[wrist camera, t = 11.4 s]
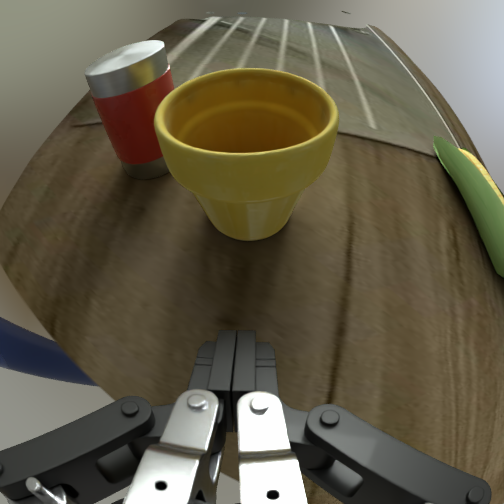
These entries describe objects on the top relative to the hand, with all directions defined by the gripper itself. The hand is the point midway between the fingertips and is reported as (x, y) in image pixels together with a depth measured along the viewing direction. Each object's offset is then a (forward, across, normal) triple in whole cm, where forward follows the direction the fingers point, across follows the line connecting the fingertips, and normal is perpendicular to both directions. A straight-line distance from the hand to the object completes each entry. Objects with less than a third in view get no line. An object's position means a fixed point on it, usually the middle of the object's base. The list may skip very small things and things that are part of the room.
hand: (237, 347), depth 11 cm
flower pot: (+13, 0, -4) cm, 14 cm away
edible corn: (+14, -24, -5) cm, 28 cm away
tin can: (+18, +9, -9) cm, 22 cm away
